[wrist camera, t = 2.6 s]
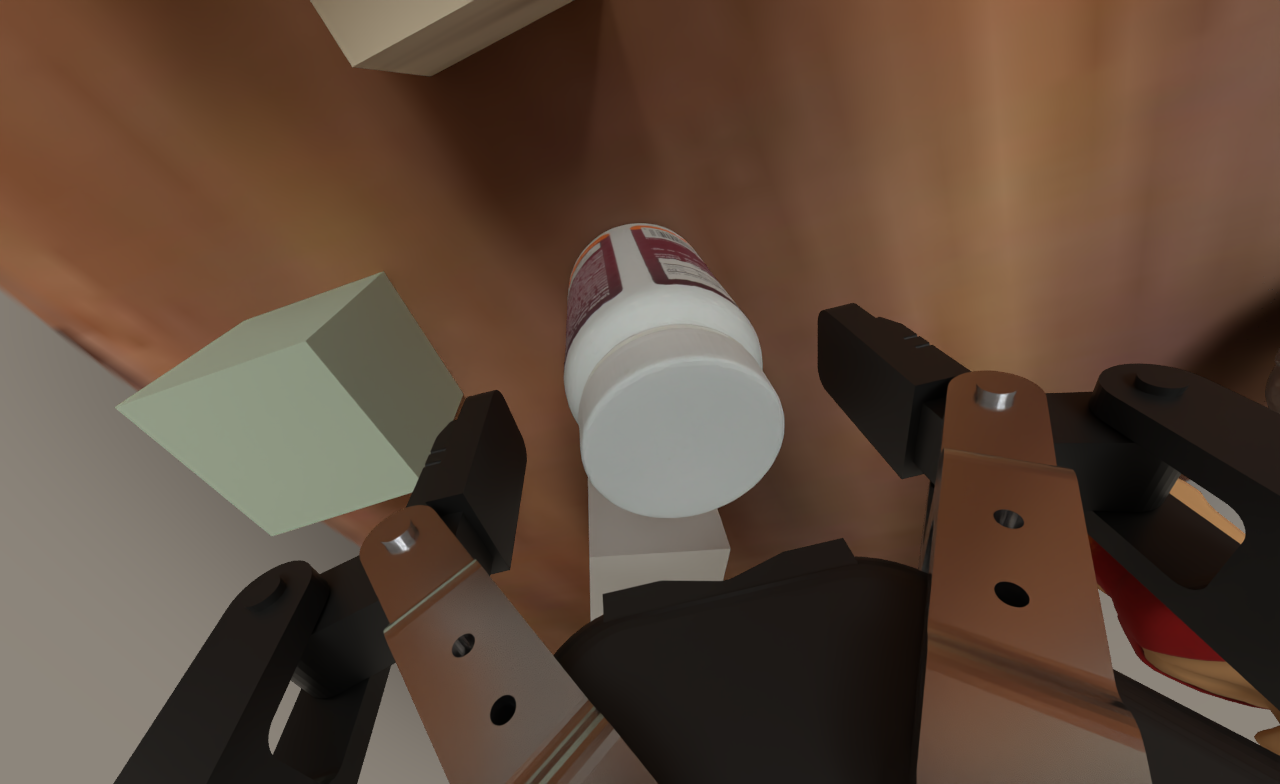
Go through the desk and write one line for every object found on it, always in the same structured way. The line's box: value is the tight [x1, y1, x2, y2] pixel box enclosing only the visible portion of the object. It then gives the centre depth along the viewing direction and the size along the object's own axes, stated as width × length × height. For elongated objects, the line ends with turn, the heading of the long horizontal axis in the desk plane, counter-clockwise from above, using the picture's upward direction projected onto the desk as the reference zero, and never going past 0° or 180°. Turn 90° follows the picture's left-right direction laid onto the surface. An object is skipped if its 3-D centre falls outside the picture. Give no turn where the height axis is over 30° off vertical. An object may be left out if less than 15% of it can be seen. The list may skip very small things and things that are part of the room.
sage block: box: [115, 271, 463, 536], centre depth 14 cm, size 5×5×5 cm
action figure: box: [1088, 478, 1280, 756], centre depth 15 cm, size 9×4×15 cm, turn 36°
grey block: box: [588, 478, 731, 621], centre depth 19 cm, size 5×5×5 cm
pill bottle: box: [564, 223, 784, 518], centre depth 12 cm, size 5×5×8 cm
